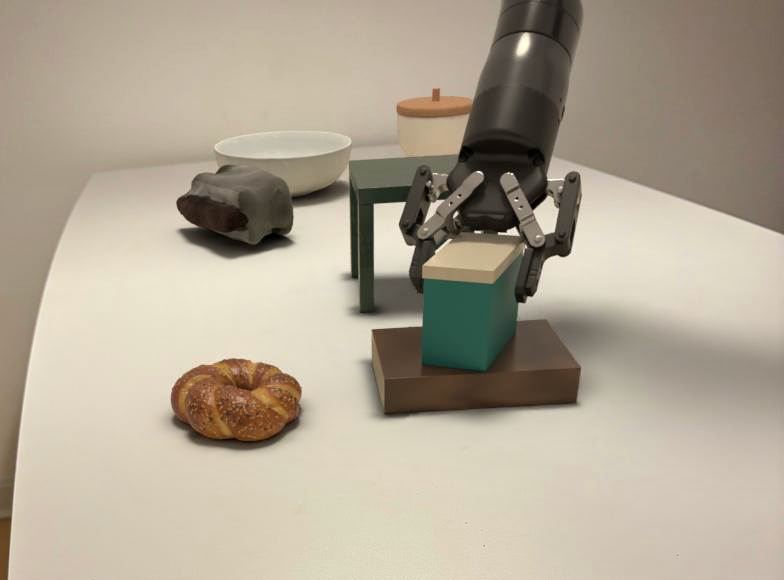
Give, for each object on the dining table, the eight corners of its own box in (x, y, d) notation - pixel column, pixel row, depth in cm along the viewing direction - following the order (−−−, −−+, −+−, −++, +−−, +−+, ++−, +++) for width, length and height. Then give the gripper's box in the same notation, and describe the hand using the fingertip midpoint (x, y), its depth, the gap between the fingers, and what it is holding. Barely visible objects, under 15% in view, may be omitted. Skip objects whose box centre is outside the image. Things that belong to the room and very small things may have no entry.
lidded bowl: (478, 169, 152) (483, 91, 146) (400, 174, 152) (401, 96, 146) (464, 154, 162) (468, 80, 156) (391, 159, 162) (392, 85, 156)
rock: (166, 230, 130) (158, 167, 125) (238, 216, 135) (233, 155, 130) (227, 259, 117) (221, 191, 113) (304, 244, 122) (301, 177, 117)
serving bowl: (224, 213, 137) (219, 160, 133) (213, 183, 153) (208, 136, 149) (364, 200, 139) (364, 148, 135) (339, 172, 155) (338, 126, 151)
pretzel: (322, 435, 75) (320, 391, 73) (188, 457, 73) (182, 412, 71) (285, 381, 85) (282, 341, 83) (165, 399, 83) (159, 358, 81)
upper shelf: (470, 266, 110) (476, 152, 103) (493, 304, 99) (502, 180, 92) (350, 273, 110) (348, 160, 103) (359, 312, 99) (358, 188, 92)
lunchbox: (455, 324, 86) (460, 231, 81) (517, 330, 84) (526, 236, 79) (419, 364, 79) (422, 265, 74) (486, 372, 77) (493, 270, 72)
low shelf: (543, 351, 88) (546, 318, 86) (576, 402, 78) (581, 367, 76) (371, 361, 88) (371, 329, 86) (384, 413, 78) (384, 379, 76)
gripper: (425, 80, 78) (375, 263, 77) (602, 81, 73) (551, 277, 71) (442, 140, 85) (397, 308, 84) (604, 144, 80) (558, 324, 78)
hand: (468, 293), depth 77 cm, fingers open, 8 cm apart
